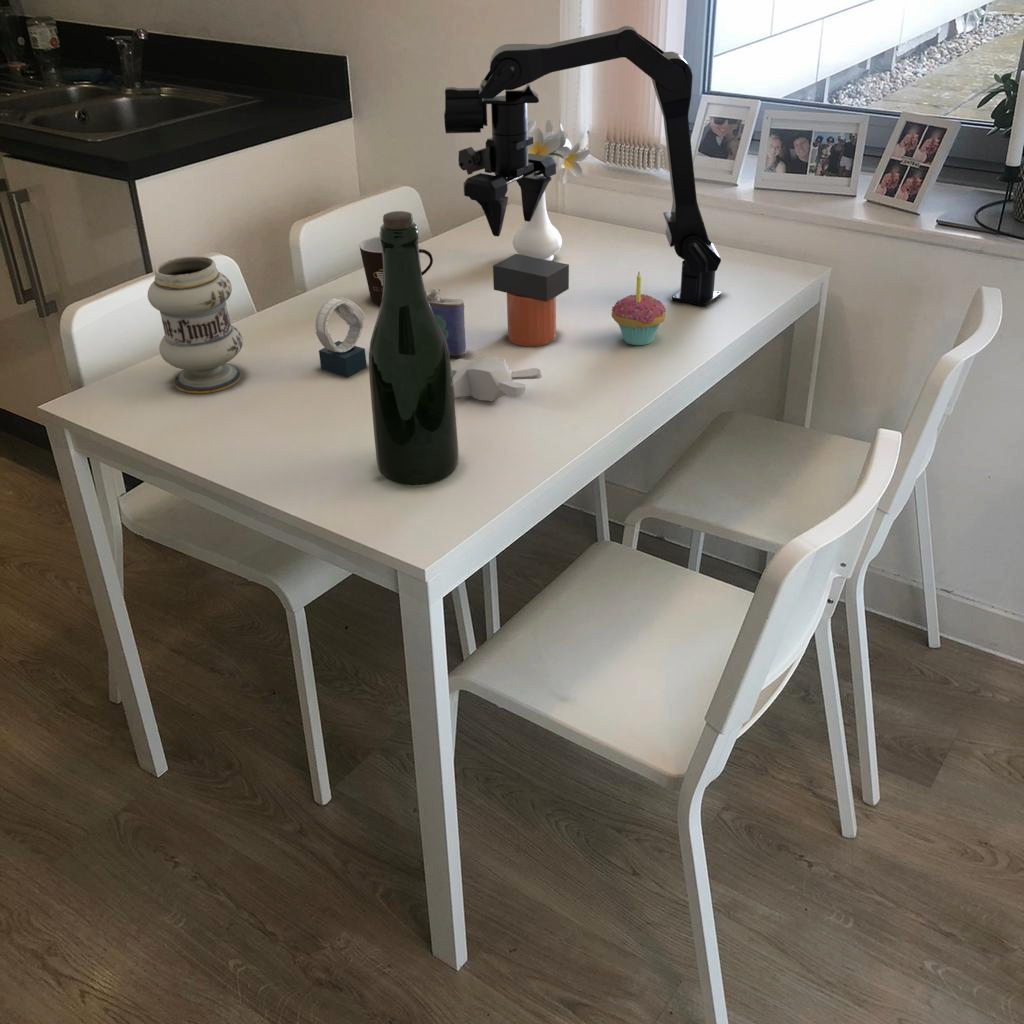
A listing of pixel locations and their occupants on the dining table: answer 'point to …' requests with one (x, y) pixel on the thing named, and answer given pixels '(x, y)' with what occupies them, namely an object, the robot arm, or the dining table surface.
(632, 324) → the cupcake
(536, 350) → the dining table surface
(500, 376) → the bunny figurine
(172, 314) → the apothecary jar
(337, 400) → the dining table surface
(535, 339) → the terracotta cup
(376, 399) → the green wine bottle
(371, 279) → the coffee mug
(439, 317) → the flask
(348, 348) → the watch
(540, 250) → the flower vase
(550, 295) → the black bar
